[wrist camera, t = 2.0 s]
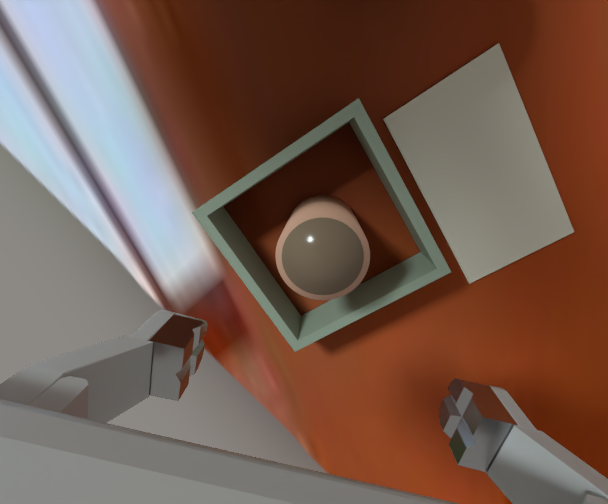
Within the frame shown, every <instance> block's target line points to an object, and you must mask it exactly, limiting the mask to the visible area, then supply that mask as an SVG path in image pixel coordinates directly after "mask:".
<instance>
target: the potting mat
mask: <svg viewBox="0 0 608 504" xmlns="http://www.w3.org/2000/svg"><path fill="white" fill-rule="evenodd" d="M383 120H384V122H385V124H386V126H387V128H388V130H389V132H390V133H391V135H392V137H393V139H394V141H395V143H396V145H397V147H398V149H399V151H400V153H401V155H402V156H403V158H404V160H405V162H406V164H407V166H408V168H409V170H410V172H411V174H412V176H413V178H414V179H415V181H416V183H417V185H418V187H419V189H420V191H421V193H422V195H423V197H424V199H425V201H426V202H427V204H428V206H429V208H430V210H431V212H432V214H433V216H434V218H435V220H436V222H437V224H438V225H439V227H440V229H441V231H442V233H443V235H444V237H445V239H446V241H447V243H448V245H449V247H450V248H451V250H452V252H453V254H454V256H455V258H456V260H457V262H458V264H459V266H460V268H461V270H462V271H463V273H464V275H465V277H466V279H467V281H468V283H469V284H470V283H472V282H474V281H476V280H478V279H480V278H482V277H484V276H486V275H488V274H490V273H492V272H494V271H496V270H498V269H500V268H502V267H504V266H506V265H508V264H510V263H512V262H515V261H517V260H519V259H521V258H523V257H525V256H527V255H529V254H531V253H533V252H535V251H537V250H539V249H541V248H543V247H545V246H547V245H549V244H551V243H553V242H555V241H557V240H559V239H561V238H563V237H565V236H567V235H569V234H571V233H573V232H574V230H573V227H572V225H571V222H570V220H569V217H568V215H567V212H566V210H565V207H564V205H563V202H562V200H561V197H560V195H559V192H558V190H557V187H556V185H555V182H554V180H553V177H552V175H551V172H550V170H549V167H548V165H547V162H546V160H545V157H544V155H543V152H542V150H541V147H540V145H539V142H538V140H537V137H536V135H535V132H534V130H533V127H532V125H531V122H530V119H529V117H528V114H527V112H526V109H525V107H524V104H523V102H522V99H521V97H520V94H519V92H518V89H517V87H516V84H515V82H514V79H513V77H512V74H511V72H510V69H509V67H508V64H507V62H506V59H505V57H504V54H503V52H502V49H501V47H500V44H499V43H498V44H497V45H495V46H494V47H492V48H491V49H489V50H487V51H486V52H484V53H483V54H481V55H480V56H478V57H477V58H475V59H474V60H472V61H471V62H469V63H468V64H466V65H465V66H463V67H462V68H460V69H459V70H457V71H455V72H454V73H452V74H451V75H449V76H448V77H446V78H445V79H443V80H442V81H440V82H439V83H437V84H436V85H434V86H433V87H431V88H430V89H428V90H427V91H425V92H423V93H422V94H420V95H419V96H417V97H416V98H414V99H413V100H411V101H410V102H408V103H407V104H405V105H404V106H402V107H401V108H399V109H398V110H396V111H395V112H393V113H391V114H390V115H388V116H387V117H385V118H384V119H383Z"/></svg>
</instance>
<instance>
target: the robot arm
mask: <svg viewBox="0 0 608 504" xmlns="http://www.w3.org/2000/svg"><path fill="white" fill-rule="evenodd" d="M206 331H207V322H206V321H205V320H201V319H197V318H193V317H189V316H185V315H181V314H176V313H174V312H169V311H165V310H159V311H157V312H156V313H155V314H154V315H153V316H152V317H151V318H149V319H148V320H147V321H146V322H145V323H144V324H143V325H142V326H141V327H140V328H139V329H137V330H136V331H135V332H134V333H133V334H132V335H131V336H130V337H129V336H122V337H119V338H115V339H112V340H109V341H105V342H102V343H99V344H95V345H92V346H89V347H85V348H82V349H79V350H76V351H72V352H69V353H65V354H62V355H59V356H56V357H52V358H49V359H46V360H42V361H39V362H36V363H32V364H29V365H27V366H26V367H25V368H23V369H22V370H20V371H19V372H17V373H16V374H15V375H13V376H12V377H10V378H9V379H7V380H6V381H5V382H3V383H2V384H0V504H458V503H454V502H449V501H445V500H441V499H436V498H432V497H428V496H423V495H419V494H415V493H410V492H406V491H402V490H397V489H393V488H388V487H384V486H380V485H375V484H371V483H366V482H362V481H358V480H353V479H349V478H344V477H340V476H336V475H331V474H327V473H322V472H318V471H313V470H309V469H304V468H300V467H296V466H291V465H287V464H282V463H278V462H274V461H269V460H265V459H261V458H256V457H252V456H247V455H243V454H239V453H234V452H229V451H226V450H221V449H217V448H212V447H208V446H204V445H199V444H195V443H191V442H186V441H182V440H177V439H173V438H169V437H164V436H160V435H156V434H151V433H146V432H142V431H138V430H134V429H129V428H125V427H120V426H116V425H111V424H107V422H108V421H110V420H111V419H113V418H115V417H116V416H118V415H120V414H121V413H123V412H125V411H126V410H128V409H130V408H131V407H133V406H135V405H136V404H138V403H139V402H141V401H143V400H144V399H146V398H148V397H149V395H151V396H157V397H161V398H166V399H171V400H177V401H178V400H179V399H180V397H181V395H182V394H183V392H184V390H185V389H186V387H187V385H188V382H189V376H191V375H193V374H195V372H196V370H197V369H198V367H199V364H200V362H201V359H202V355H203V352H204V345H205V344H204V342H203V341H202V338H203V337H204V335H205V334H206ZM448 390H449V393H450V395H449V396H447V397H446V398H444V399H443V400H442V403H441V405H440V409H439V419H440V424H441V427H442V429H443V431H444V432H445V433H446V434H447V435H448V436H449V437H450V438H451V440H450V442H449V446H450V448H451V450H452V452H453V455H454V457H455V459H456V462H457V464H458V465H460V466H464V467H468V468H472V469H476V470H479V471H483V472H487V475H488V476H489V477H490V478H491V480H492V481H493V482H494V483H495V484H496V485H497V486H498V488H499V489H500V490H501V491H502V492H503V493H504V494H505V496H506V497H507V498H508V499H509V500H510V501H511V502H512V504H608V479H607V478H606V477H604V476H603V475H602V474H600V473H599V472H597V471H596V470H595V469H593V468H592V467H590V466H589V465H588V464H586V463H585V462H584V461H582V460H581V459H579V458H578V457H577V456H575V455H574V454H573V453H571V452H570V451H568V450H567V449H566V448H564V447H563V446H562V445H560V444H559V443H557V442H556V441H555V440H553V439H552V438H551V437H549V436H548V435H546V434H545V433H544V432H542V431H538V430H536V428H535V427H534V426H533V424H532V423H531V422H530V421H529V419H528V418H527V417H526V415H525V414H524V413H523V412H522V410H521V409H520V408H519V406H518V405H517V404H516V403H515V401H514V400H513V399H512V397H511V396H510V395H509V394H508V392H507V391H506V390H504V389H503V388H500V387H495V386H490V385H483V384H478V383H474V382H469V381H464V380H460V379H454V380H453V381H452V382H451V383H450V385H449V387H448Z"/></svg>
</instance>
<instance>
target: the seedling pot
mask: <svg viewBox="0 0 608 504" xmlns="http://www.w3.org/2000/svg"><path fill="white" fill-rule="evenodd" d="M369 263H370V248H369V244H368V241H367V238H366V236H365V234H364V232H363V230H362V229H361V227H360V225H359V223H358V221H357V219H356V217H355V215H354V213H353V211H352V209H351V208H350V207H349V206H348V205H347V204H346V203H345V202H344V201H343V200H341V199H339V198H337V197H335V196H331V195H324V194H321V195H314V196H311V197H308V198H306V199H305V200H303V201H302V202H300V203H299V204H298V205H297V206H296V208H295V209H294V210H293V212H292V214H291V216H290V218H289V220H288V222H287V224H286V226H285V228H284V230H283V232H282V234H281V236H280V238H279V240H278V243H277V247H276V265H277V268H278V271H279V273H280V275H281V277H282V279H283V280H284V282H285V283H286V284H287V285H288V286H289V287H290V288H291V289H292V290H294V291H295V292H296V293H298V294H300V295H302V296H304V297H307V298H310V299H315V300H331V299H336V298H339V297H342V296H344V295H346V294H348V293H349V292H351V291H352V290H354V289H355V288H356V287H357V286H358V285H359V284H360V283H361V281H362V280H363V279H364V277H365V275H366V273H367V270H368V267H369Z"/></svg>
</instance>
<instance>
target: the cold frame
mask: <svg viewBox="0 0 608 504" xmlns="http://www.w3.org/2000/svg"><path fill="white" fill-rule="evenodd" d="M347 123H350V125H351V127H352V129H353V130H354V132H355V134H356V136H357V138H358V140H359V141H360V143H361V145H362V147H363V149H364V150H365V152H366V154H367V156H368V158H369V159H370V161H371V163H372V165H373V167H374V169H375V170H376V172H377V174H378V176H379V178H380V179H381V181H382V183H383V185H384V187H385V188H386V190H387V192H388V194H389V196H390V198H391V199H392V201H393V203H394V205H395V207H396V208H397V210H398V212H399V214H400V216H401V217H402V219H403V221H404V223H405V225H406V227H407V228H408V230H409V232H410V234H411V236H412V237H413V239H414V241H415V243H416V245H417V246H418V248H419V250H420V252H419V253H418V254H416V255H414V256H412V257H410V258H408V259H406V260H405V261H403V262H401V263H399V264H397V265H395V266H393V267H392V268H390V269H388V270H386V271H384V272H382V273H380V274H378V275H377V276H375V277H373V278H371V279H369V280H367V281H365V282H364V283H362V284H360V285H358V286H357V287H356V288H355V289H354V290H352V291H351V292H349V293H348V294H346V295H344V296H342V297H339V298H336V299H332V300H330V301H328V302H326V303H324V304H322V305H321V306H319V307H317V308H315V309H313V310H311V311H309V312H308V313H306V314H304V315H302V316H301V315H300V314H299V313H298V311H297V310H296V308H295V307H294V305H293V304H292V303H291V301H290V300H289V298H288V297H287V296H286V294H285V293H284V291H283V290H282V289H281V287H280V286H279V284H278V283H277V281H276V280H275V279H274V277H273V276H272V274H271V273H270V272H269V270H268V269H267V267H266V266H265V264H264V263H263V262H262V260H261V259H260V257H259V256H258V255H257V253H256V252H255V250H254V249H253V248H252V246H251V245H250V243H249V242H248V240H247V239H246V238H245V236H244V235H243V233H242V232H241V231H240V229H239V228H238V226H237V225H236V224H235V222H234V221H233V219H232V218H231V216H230V215H229V214H228V212H227V211H226V209H225V208H224V206H225V205H227V204H228V203H230V202H231V201H233V200H234V199H236V198H237V197H239V196H240V195H242V194H243V193H245V192H246V191H248V190H249V189H251V188H252V187H254V186H255V185H257V184H258V183H260V182H261V181H262V180H264V179H265V178H267V177H268V176H270V175H271V174H273V173H274V172H276V171H277V170H279V169H280V168H282V167H283V166H285V165H286V164H288V163H289V162H291V161H292V160H294V159H295V158H297V157H298V156H300V155H301V154H303V153H304V152H306V151H307V150H309V149H310V148H312V147H313V146H315V145H316V144H318V143H319V142H321V141H322V140H324V139H325V138H327V137H328V136H330V135H331V134H332V133H334V132H335V131H337V130H338V129H340V128H341V127H343V126H344V125H346V124H347ZM192 213H193V215H194V216H195V217H196V219H197V220H198V221H199V223H200V224H201V225H202V227H203V228H204V230H205V231H206V232H207V234H208V235H209V236H210V238H211V239H212V240H213V242H214V243H215V244H216V246H217V247H218V248H219V250H220V251H221V252H222V254H223V255H224V257H225V258H226V259H227V261H228V262H229V263H230V265H231V266H232V267H233V269H234V270H235V271H236V273H237V274H238V275H239V277H240V278H241V279H242V281H243V282H244V284H245V285H246V286H247V288H248V289H249V290H250V292H251V293H252V294H253V296H254V297H255V298H256V300H257V301H258V302H259V304H260V305H261V307H262V308H263V309H264V311H265V312H266V313H267V315H268V316H269V317H270V319H271V320H272V321H273V323H274V324H275V325H276V327H277V328H278V329H279V331H280V332H281V334H282V335H283V336H284V338H285V339H286V340H287V342H288V343H289V344H290V346H291V347H292V348H293V350H294V351H297V350H299V349H301V348H303V347H305V346H307V345H309V344H311V343H313V342H315V341H317V340H319V339H321V338H323V337H325V336H327V335H329V334H331V333H333V332H335V331H337V330H339V329H340V328H342V327H344V326H346V325H348V324H350V323H352V322H354V321H356V320H358V319H360V318H362V317H364V316H366V315H368V314H370V313H372V312H374V311H376V310H378V309H380V308H382V307H384V306H386V305H388V304H390V303H392V302H394V301H396V300H397V299H399V298H401V297H403V296H405V295H407V294H409V293H411V292H413V291H415V290H417V289H419V288H421V287H423V286H425V285H427V284H429V283H431V282H433V281H435V280H437V279H439V278H441V277H443V276H445V275H447V274H449V273H451V270H450V268H449V267H448V265H447V263H446V261H445V259H444V257H443V255H442V253H441V251H440V250H439V248H438V246H437V244H436V242H435V240H434V238H433V236H432V235H431V233H430V231H429V229H428V227H427V225H426V223H425V221H424V220H423V218H422V216H421V214H420V212H419V210H418V208H417V206H416V205H415V203H414V201H413V199H412V197H411V195H410V193H409V191H408V190H407V188H406V186H405V184H404V182H403V180H402V178H401V176H400V175H399V173H398V171H397V169H396V167H395V165H394V163H393V161H392V159H391V158H390V156H389V154H388V152H387V150H386V148H385V146H384V144H383V143H382V141H381V139H380V137H379V135H378V133H377V131H376V129H375V128H374V126H373V124H372V122H371V120H370V118H369V116H368V114H367V113H366V111H365V109H364V107H363V105H362V103H361V101H360V99H359V98H358V99H357V100H355V101H354V102H352V103H351V104H349V105H348V106H346V107H345V108H344V109H342V110H341V111H339V112H338V113H336V114H335V115H333V116H332V117H330V118H329V119H327V120H326V121H325V122H323V123H322V124H320V125H319V126H317V127H316V128H314V129H313V130H311V131H310V132H309V133H307V134H306V135H304V136H303V137H301V138H300V139H298V140H297V141H295V142H294V143H292V144H291V145H290V146H288V147H287V148H285V149H284V150H282V151H281V152H279V153H278V154H276V155H275V156H274V157H272V158H271V159H269V160H268V161H266V162H265V163H263V164H262V165H260V166H259V167H257V168H256V169H255V170H253V171H252V172H250V173H249V174H247V175H246V176H244V177H243V178H241V179H240V180H239V181H237V182H236V183H234V184H233V185H231V186H230V187H228V188H227V189H225V190H224V191H222V192H221V193H220V194H218V195H217V196H215V197H214V198H212V199H211V200H209V201H208V202H206V203H205V204H204V205H202V206H201V207H199V208H198V209H196V210H195V211H193V212H192Z"/></svg>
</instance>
